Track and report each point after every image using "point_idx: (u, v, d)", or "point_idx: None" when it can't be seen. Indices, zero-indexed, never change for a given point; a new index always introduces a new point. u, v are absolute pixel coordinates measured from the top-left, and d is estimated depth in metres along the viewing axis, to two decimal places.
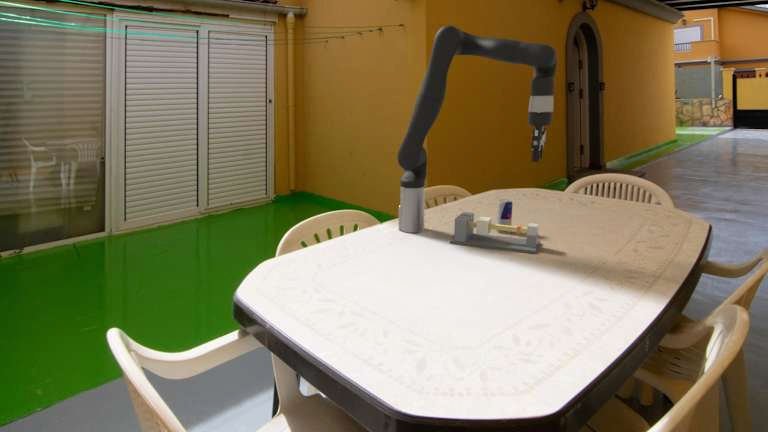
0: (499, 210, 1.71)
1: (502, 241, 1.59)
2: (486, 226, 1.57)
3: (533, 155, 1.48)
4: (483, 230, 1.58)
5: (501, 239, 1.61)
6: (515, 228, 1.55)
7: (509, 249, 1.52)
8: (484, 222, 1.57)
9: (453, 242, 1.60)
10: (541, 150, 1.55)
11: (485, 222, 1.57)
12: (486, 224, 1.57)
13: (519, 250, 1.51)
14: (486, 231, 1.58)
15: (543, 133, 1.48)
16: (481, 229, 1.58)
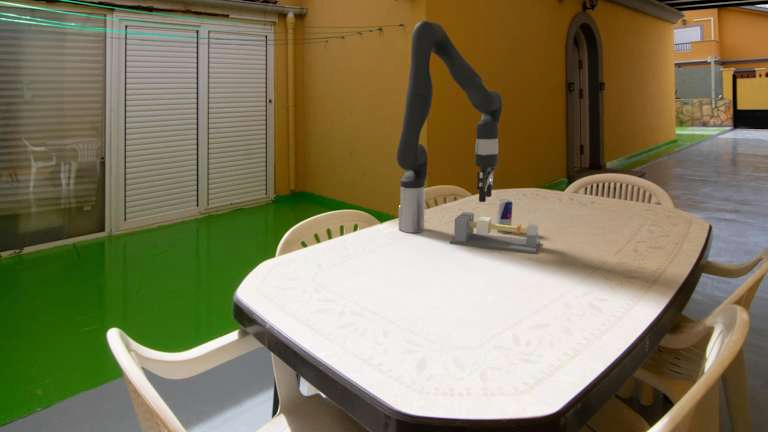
0: (499, 210, 1.71)
1: (502, 241, 1.59)
2: (486, 226, 1.57)
3: (479, 195, 1.53)
4: (483, 230, 1.58)
5: (501, 239, 1.61)
6: (515, 228, 1.55)
7: (509, 249, 1.52)
8: (484, 222, 1.57)
9: (453, 242, 1.60)
10: (490, 189, 1.60)
11: (485, 222, 1.57)
12: (486, 224, 1.57)
13: (519, 250, 1.51)
14: (486, 231, 1.58)
15: (489, 174, 1.53)
16: (481, 229, 1.58)
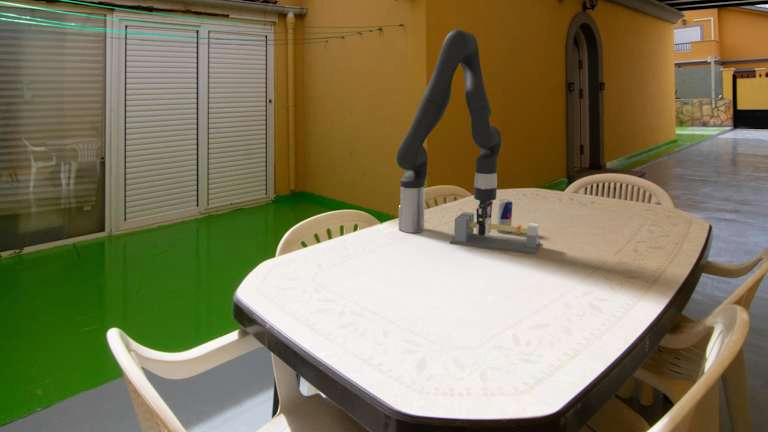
0: (499, 210, 1.71)
1: (502, 241, 1.59)
2: (486, 226, 1.57)
3: (479, 229, 1.57)
4: None
5: (501, 239, 1.61)
6: (515, 228, 1.55)
7: (509, 249, 1.52)
8: None
9: (453, 242, 1.60)
10: None
11: None
12: (486, 224, 1.57)
13: (519, 250, 1.51)
14: (486, 231, 1.58)
15: (488, 208, 1.56)
16: None
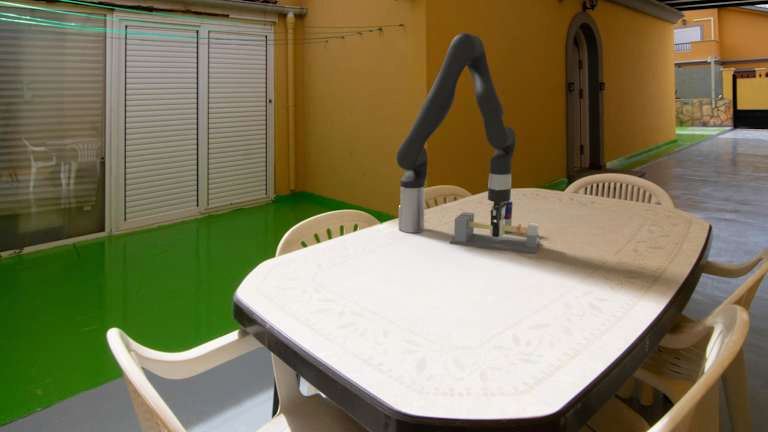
0: None
1: (502, 241, 1.59)
2: (500, 227, 1.55)
3: (493, 231, 1.55)
4: None
5: (501, 239, 1.61)
6: (515, 228, 1.55)
7: (509, 249, 1.52)
8: None
9: (453, 242, 1.60)
10: None
11: None
12: (500, 225, 1.55)
13: (519, 250, 1.51)
14: (500, 233, 1.56)
15: (502, 209, 1.54)
16: None
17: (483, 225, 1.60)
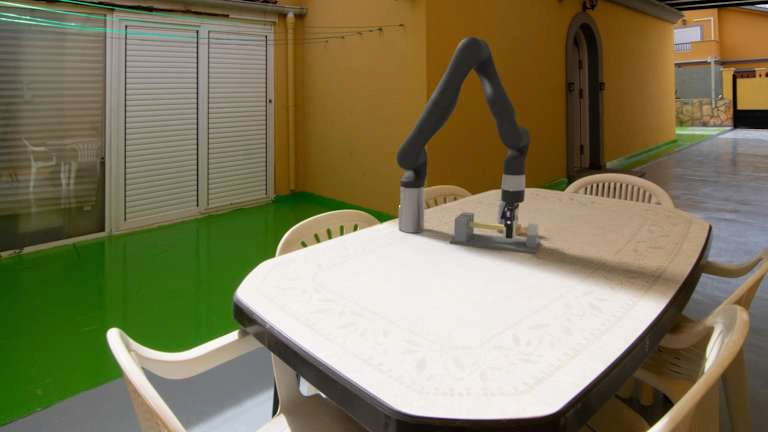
0: (499, 210, 1.71)
1: (502, 241, 1.59)
2: (514, 229, 1.54)
3: (506, 232, 1.53)
4: None
5: (501, 239, 1.61)
6: None
7: (509, 249, 1.52)
8: None
9: (453, 242, 1.60)
10: None
11: (513, 225, 1.53)
12: (514, 227, 1.53)
13: (519, 250, 1.51)
14: (514, 234, 1.54)
15: (515, 210, 1.52)
16: None
17: (483, 225, 1.60)
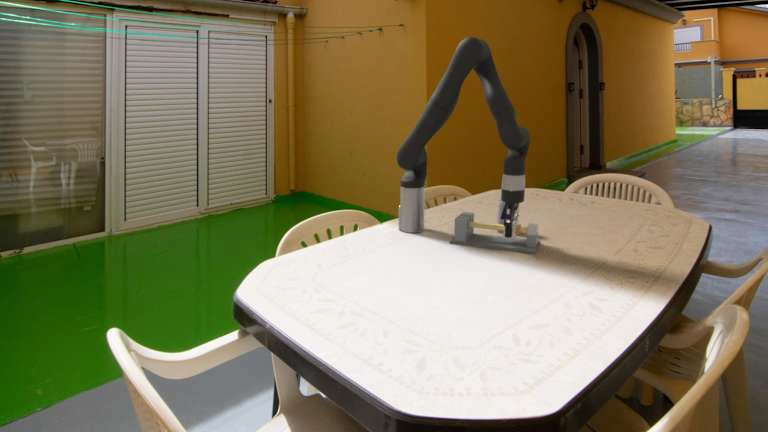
0: (499, 210, 1.71)
1: (502, 241, 1.59)
2: (514, 229, 1.54)
3: (506, 231, 1.52)
4: None
5: (501, 239, 1.61)
6: None
7: (509, 249, 1.52)
8: None
9: (453, 242, 1.60)
10: None
11: (513, 225, 1.53)
12: (514, 227, 1.53)
13: (519, 250, 1.51)
14: (514, 234, 1.54)
15: (515, 210, 1.52)
16: None
17: (483, 225, 1.60)
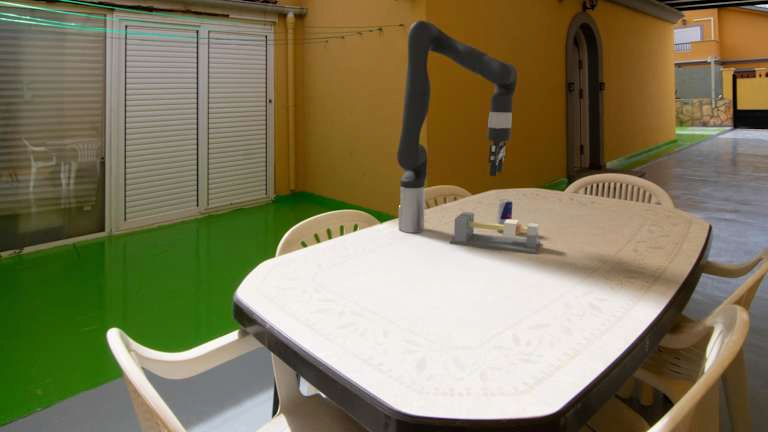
0: (499, 210, 1.71)
1: (502, 241, 1.59)
2: (514, 229, 1.54)
3: (490, 169, 1.52)
4: (510, 233, 1.54)
5: (501, 239, 1.61)
6: None
7: (509, 249, 1.52)
8: (512, 225, 1.54)
9: (453, 242, 1.60)
10: (500, 164, 1.59)
11: (513, 225, 1.53)
12: (514, 227, 1.53)
13: (519, 250, 1.51)
14: (514, 234, 1.54)
15: (501, 148, 1.52)
16: (508, 232, 1.55)
17: (483, 225, 1.60)
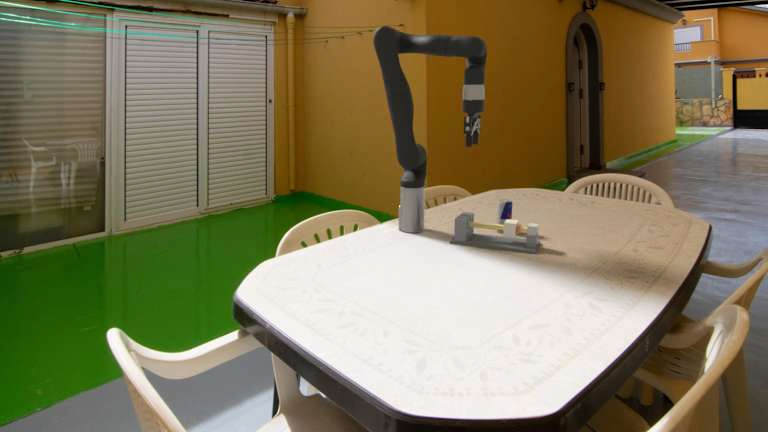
0: (499, 210, 1.71)
1: (502, 241, 1.59)
2: (514, 229, 1.54)
3: (466, 140, 1.58)
4: (510, 233, 1.54)
5: (501, 239, 1.61)
6: None
7: (509, 249, 1.52)
8: (512, 225, 1.54)
9: (453, 242, 1.60)
10: (476, 136, 1.65)
11: (513, 225, 1.53)
12: (514, 227, 1.53)
13: (519, 250, 1.51)
14: (514, 234, 1.54)
15: (475, 120, 1.58)
16: (508, 232, 1.55)
17: (483, 225, 1.60)
